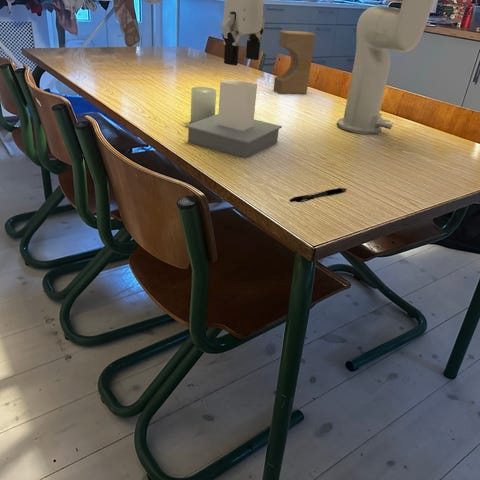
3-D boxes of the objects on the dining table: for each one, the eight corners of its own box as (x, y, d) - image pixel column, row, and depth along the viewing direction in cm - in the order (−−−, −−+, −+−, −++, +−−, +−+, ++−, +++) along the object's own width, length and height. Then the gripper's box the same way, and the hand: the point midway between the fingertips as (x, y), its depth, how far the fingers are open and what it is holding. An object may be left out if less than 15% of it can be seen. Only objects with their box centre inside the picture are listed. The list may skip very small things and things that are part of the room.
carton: (228, 120, 119) (231, 79, 115) (253, 126, 117) (257, 84, 112) (217, 124, 116) (220, 81, 111) (242, 130, 113) (246, 87, 108)
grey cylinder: (218, 124, 130) (220, 90, 126) (205, 129, 125) (207, 94, 121) (199, 119, 133) (200, 85, 128) (185, 123, 128) (186, 89, 123)
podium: (279, 141, 121) (281, 126, 119) (246, 159, 108) (248, 141, 106) (222, 127, 128) (223, 112, 126) (185, 141, 115) (185, 125, 113)
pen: (292, 206, 90) (294, 202, 89) (287, 200, 91) (289, 196, 90) (348, 195, 96) (350, 190, 96) (343, 189, 97) (345, 185, 96)
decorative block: (279, 94, 168) (286, 32, 158) (272, 90, 173) (279, 30, 163) (307, 94, 172) (316, 34, 162) (300, 90, 176) (308, 31, 167)
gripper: (251, -25, 108) (246, 55, 117) (209, -27, 95) (206, 64, 104) (281, -23, 105) (273, 59, 114) (242, -24, 92) (236, 69, 101)
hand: (241, 61), depth 109 cm, fingers open, 9 cm apart
